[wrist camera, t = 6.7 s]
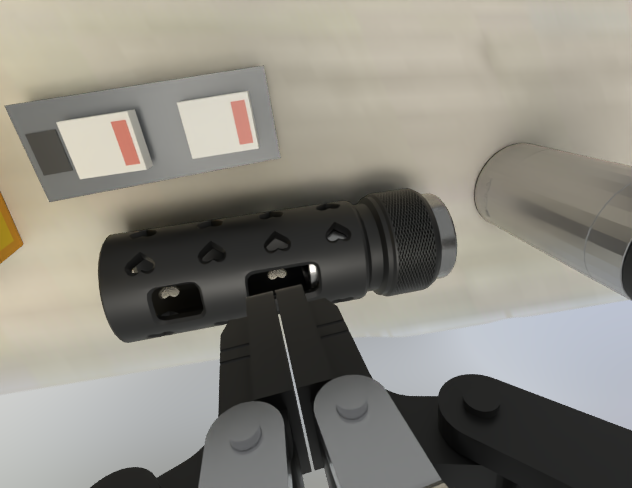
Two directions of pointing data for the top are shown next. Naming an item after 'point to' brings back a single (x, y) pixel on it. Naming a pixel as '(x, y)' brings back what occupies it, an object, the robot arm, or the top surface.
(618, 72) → the top surface
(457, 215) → the top surface
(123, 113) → the rocker
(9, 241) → the packaging box
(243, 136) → the rocker
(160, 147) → the switch strip
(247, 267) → the muzzle brake
